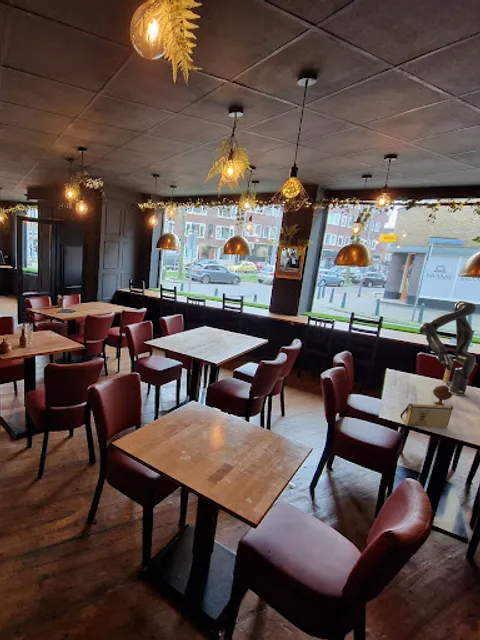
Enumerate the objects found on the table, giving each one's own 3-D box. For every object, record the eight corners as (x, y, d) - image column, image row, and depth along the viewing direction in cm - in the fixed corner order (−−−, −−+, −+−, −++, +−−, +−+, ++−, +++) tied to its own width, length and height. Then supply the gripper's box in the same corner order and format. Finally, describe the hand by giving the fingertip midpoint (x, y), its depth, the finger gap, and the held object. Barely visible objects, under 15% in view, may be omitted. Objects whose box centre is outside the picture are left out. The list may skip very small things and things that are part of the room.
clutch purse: (440, 423, 217) (446, 401, 214) (449, 429, 210) (456, 406, 207) (395, 421, 215) (400, 399, 212) (403, 426, 209) (409, 404, 205)
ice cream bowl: (453, 408, 241) (458, 388, 238) (437, 407, 241) (442, 387, 238) (441, 401, 251) (446, 382, 248) (426, 400, 252) (431, 381, 248)
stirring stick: (443, 380, 245) (448, 362, 242) (448, 382, 242) (453, 363, 239) (441, 381, 243) (446, 363, 240) (447, 383, 240) (452, 364, 237)
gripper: (435, 345, 242) (449, 368, 233) (450, 345, 246) (464, 367, 237) (426, 350, 248) (439, 372, 240) (440, 350, 252) (454, 371, 243)
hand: (451, 369), depth 238 cm, fingers closed on stirring stick, 3 cm apart
